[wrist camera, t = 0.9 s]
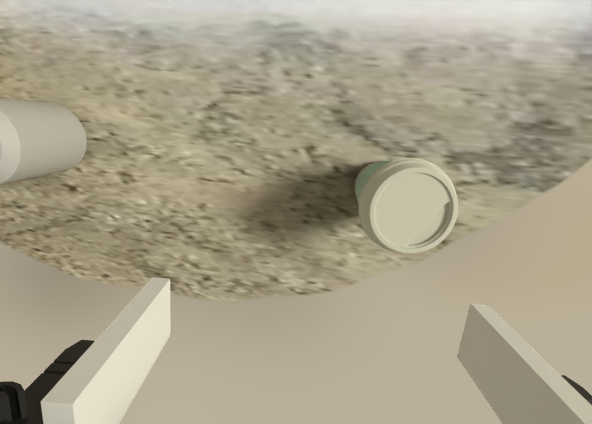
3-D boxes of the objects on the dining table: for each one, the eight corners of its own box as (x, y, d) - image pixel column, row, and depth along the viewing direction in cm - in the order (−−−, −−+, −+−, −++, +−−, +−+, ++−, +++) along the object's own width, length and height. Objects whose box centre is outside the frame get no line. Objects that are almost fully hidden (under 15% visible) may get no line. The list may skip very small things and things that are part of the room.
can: (57, 88, 37) (-50, 72, 25) (105, 145, 39) (24, 155, 27) (9, 128, 38) (-116, 131, 27) (57, 182, 40) (-41, 208, 28)
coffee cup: (354, 229, 41) (377, 271, 30) (333, 162, 39) (350, 179, 28) (422, 208, 41) (474, 242, 29) (405, 138, 39) (454, 146, 27)
